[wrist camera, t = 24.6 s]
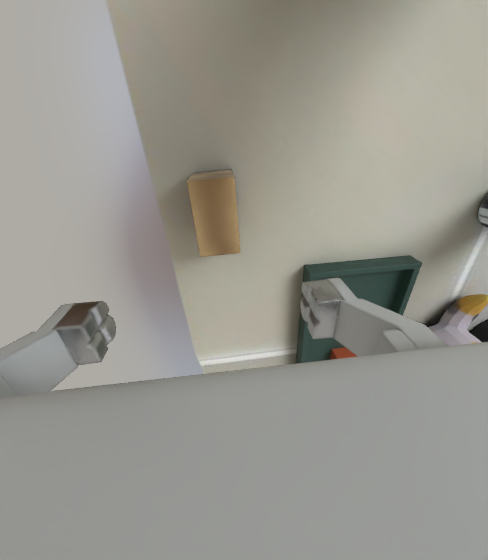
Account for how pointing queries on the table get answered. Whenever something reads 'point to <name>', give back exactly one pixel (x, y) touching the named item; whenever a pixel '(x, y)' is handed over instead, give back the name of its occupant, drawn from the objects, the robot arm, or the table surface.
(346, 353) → the orange red square block
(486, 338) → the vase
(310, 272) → the tray
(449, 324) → the figurine
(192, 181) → the tan brown block
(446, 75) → the table surface
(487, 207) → the pill bottle
